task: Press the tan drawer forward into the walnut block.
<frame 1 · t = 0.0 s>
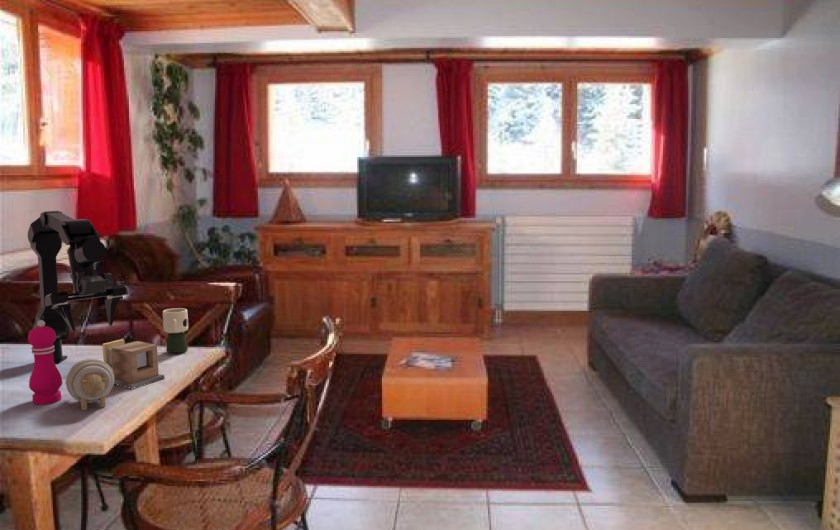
hand: (92, 328, 185), 15 cm above the table, tool pointing down, fingers open, 9 cm apart
walnut block: (136, 380, 193), on the table
tan drawer: (126, 356, 194), point 6 cm above the table, slide at 0.0 cm
toy sheep: (93, 404, 175), on the table
pepper mill: (47, 401, 178), on the table
character mug: (177, 352, 221), on the table
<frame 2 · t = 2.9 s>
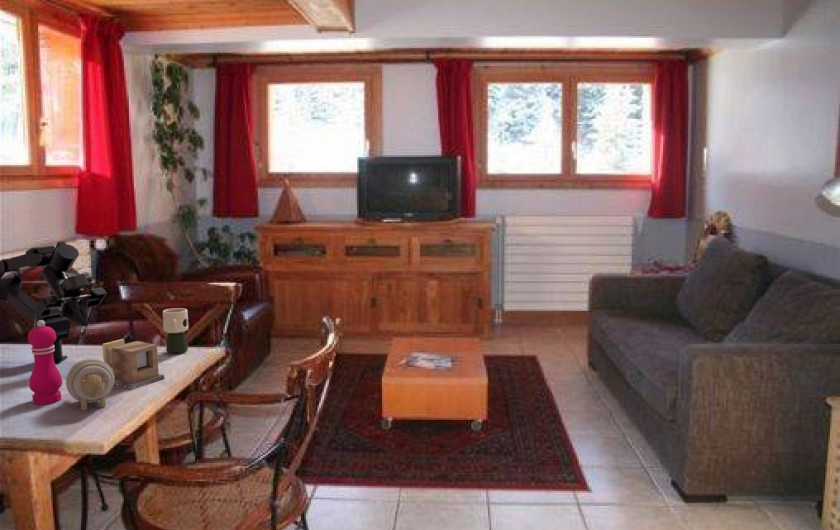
hand: (86, 325, 201), 13 cm above the table, tool tilted 45°, fingers closed
nothing on the table moved.
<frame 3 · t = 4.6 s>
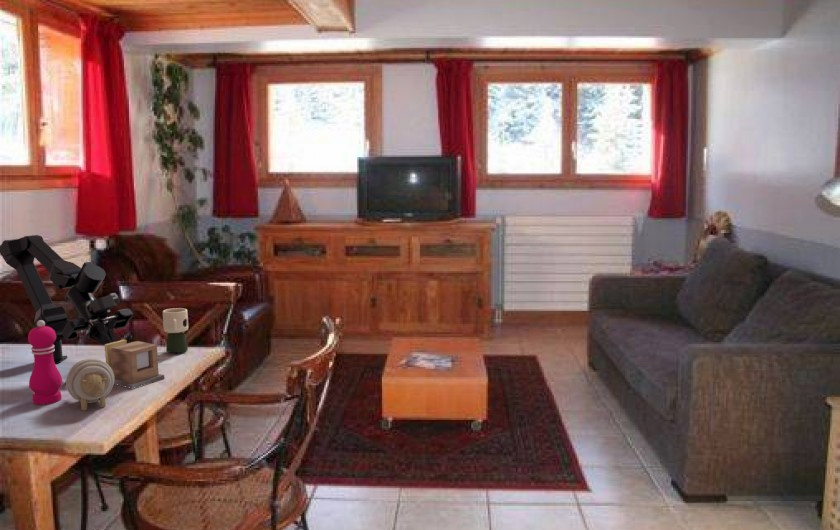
hand: (114, 347, 196), 8 cm above the table, tool tilted 45°, fingers closed, pressing on tan drawer
tan drawer: (128, 357, 193), point 6 cm above the table, slide at 0.9 cm, touching gripper
everything else where it was.
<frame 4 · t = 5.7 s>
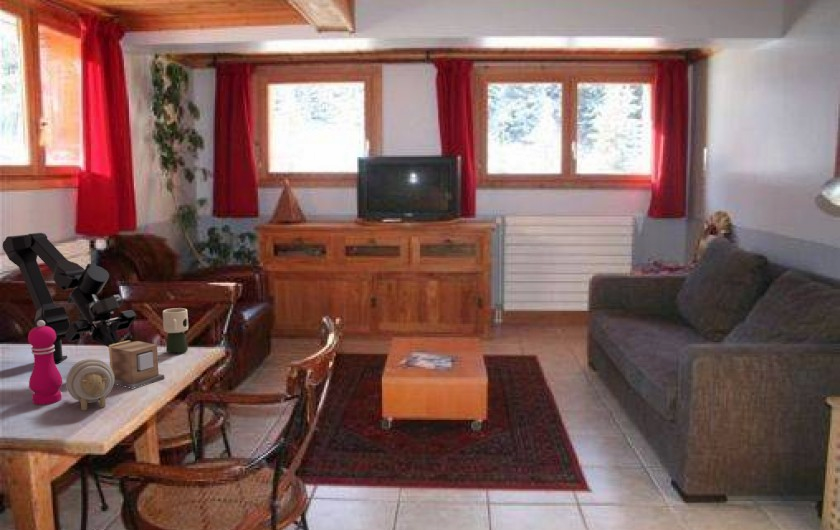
hand: (117, 349, 195), 8 cm above the table, tool tilted 45°, fingers closed
tan drawer: (132, 358, 192), point 6 cm above the table, slide at 2.6 cm
everything else where it was.
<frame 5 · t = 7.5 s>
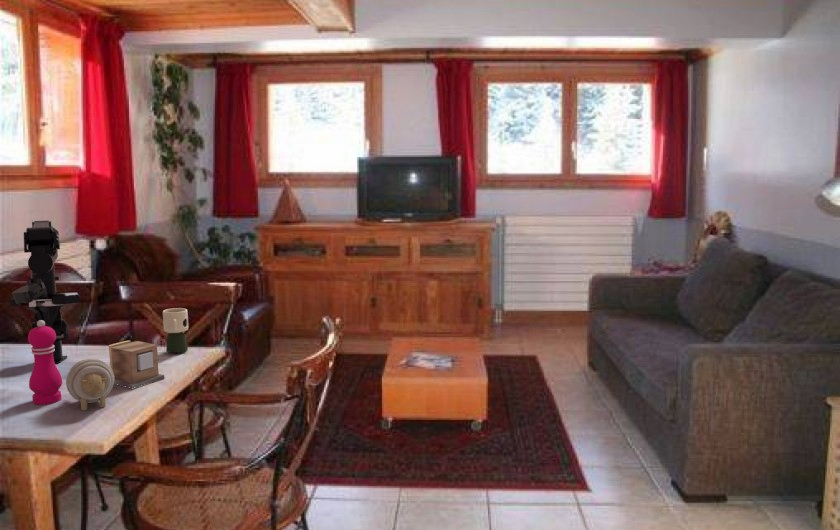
hand: (47, 331, 196), 12 cm above the table, tool pointing down, fingers closed
nothing on the table moved.
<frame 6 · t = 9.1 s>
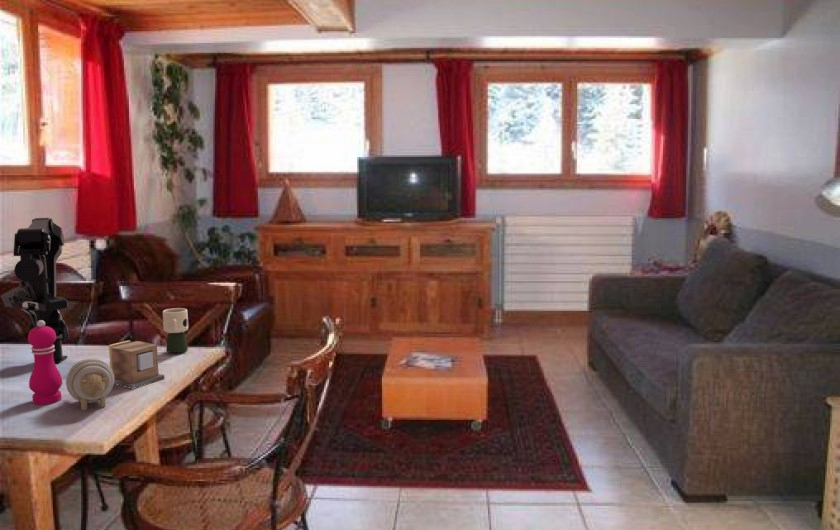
hand: (39, 332, 196), 12 cm above the table, tool pointing down, fingers closed
nothing on the table moved.
at the end: tan drawer slide at 2.6 cm; the gripper is holding nothing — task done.
